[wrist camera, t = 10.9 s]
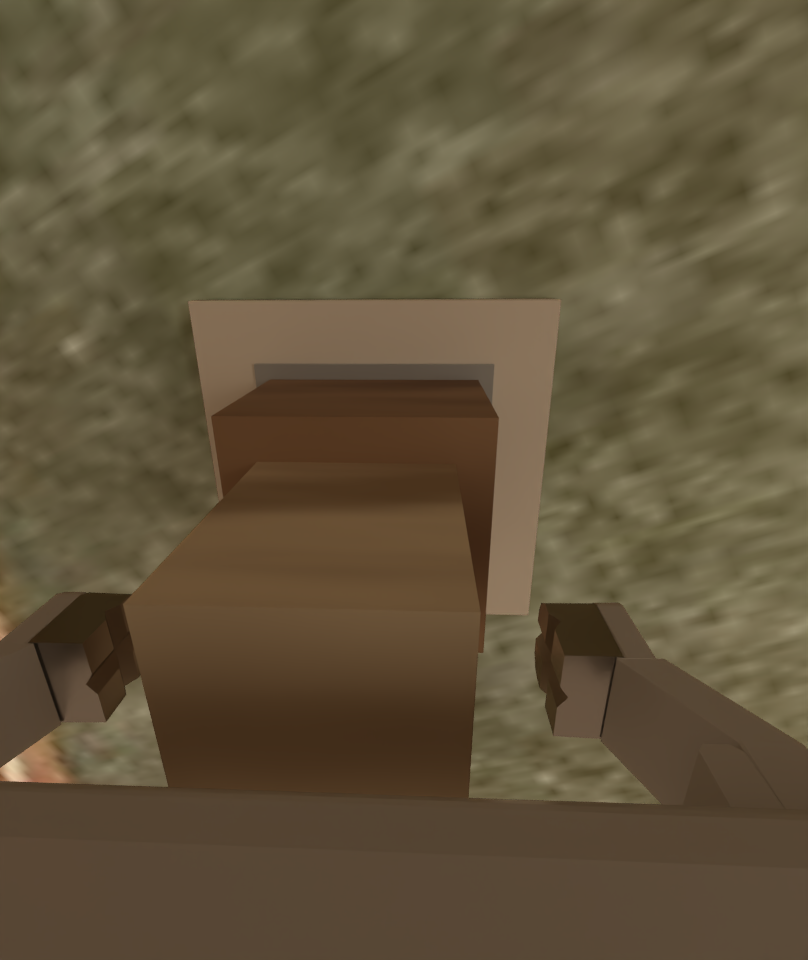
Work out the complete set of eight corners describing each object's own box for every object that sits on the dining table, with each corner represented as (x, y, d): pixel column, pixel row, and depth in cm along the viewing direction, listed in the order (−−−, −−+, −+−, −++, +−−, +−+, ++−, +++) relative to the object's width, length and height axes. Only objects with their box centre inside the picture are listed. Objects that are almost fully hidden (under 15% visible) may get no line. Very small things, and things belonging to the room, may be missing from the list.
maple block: (257, 461, 13) (122, 604, 7) (455, 463, 12) (480, 613, 7) (276, 624, 14) (181, 840, 9) (449, 628, 14) (465, 852, 9)
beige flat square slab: (200, 299, 17) (185, 301, 16) (553, 298, 17) (562, 299, 16) (243, 594, 22) (233, 611, 20) (523, 600, 21) (529, 618, 20)
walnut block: (270, 379, 17) (210, 416, 12) (478, 380, 17) (498, 418, 12) (288, 559, 19) (245, 647, 15) (469, 562, 19) (483, 652, 14)
